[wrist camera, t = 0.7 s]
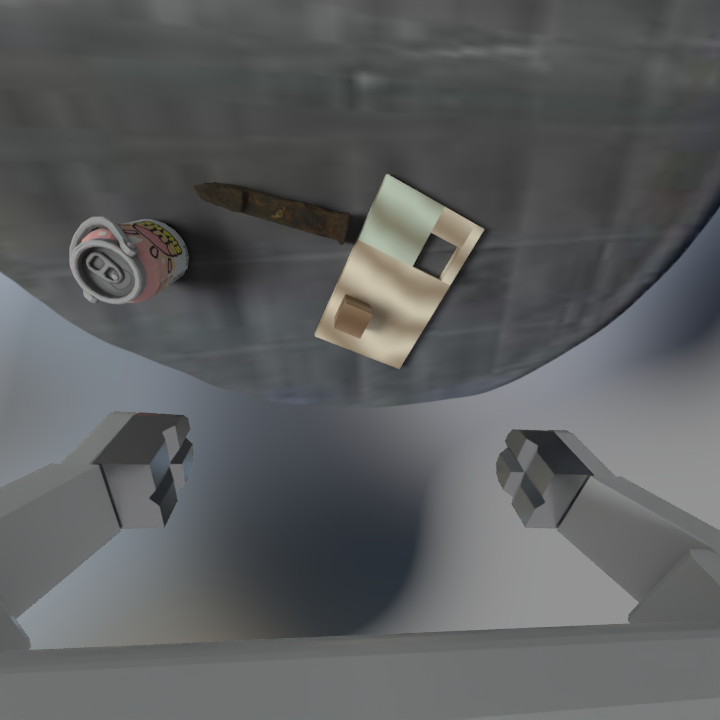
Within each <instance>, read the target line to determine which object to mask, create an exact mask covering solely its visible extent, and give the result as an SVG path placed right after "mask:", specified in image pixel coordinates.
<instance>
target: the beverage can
mask: <svg viewBox="0 0 720 720" xmlns="http://www.w3.org/2000/svg"><path fill="white" fill-rule="evenodd" d="M99 227H105V228H101V229H98V230H95V229H97V228H99ZM94 230H95V231H94ZM188 262H189V255H188V250H187V247H186V245H185V243H184V241H183V239H182V238H181V237H180V236H179V234H178V233H177V232H176V231H175V230H174V229H172V228H171V227H169V226H168V225H166V224H165V223H162V222H159V221H156V220H152V219H141V220H137V221H132V222H128V223H123V224H119V225H118V224H117V223H116V222H114V221H113V220H111V219H109V218H108V217H91V218H89V219H88V220H86V221H85V222H83V223H82V224H81V225H80V227H79V228H78V230H77V231H76V232H75V234H74V236H73V239H72V242H71V245H70V267H71V270H72V273H73V275H74V278H75V279H76V281H77V282H78V283H79V285H80V286H81V287H82V289H83V293H84V296H85V298H86V299H88V300H89V301H90V302H92V303H98V302H99V301H103V302H107V303H110V304H124V303H138V302H141V301H145V300H148V299H149V298H151V297H152V296H154V295H155V294H157V293H158V292H160V291H161V290H163V289H164V288H166V287H167V286H169V285H170V284H172V283H173V282H175V281H176V280H177V279H179V278H180V277H181V276H183V275H184V273H185V271H186V270H187V268H188Z"/></svg>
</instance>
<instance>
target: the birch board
mask: <svg viewBox="0 0 720 720" xmlns="http://www.w3.org/2000/svg"><path fill="white" fill-rule="evenodd" d="M483 231H484V229H483V228H481V227H480V226H478V225H476V224H474V223H473V222H471V221H469V220H467V219H466V218H464V217H462V216H460V215H459V214H457V213H455V212H453V211H452V210H450V209H448V208H446V207H445V206H443V205H441V204H439V203H438V202H436V201H434V200H432V199H430V198H429V197H427V196H425V195H423V194H422V193H420V192H418V191H416V190H415V189H413V188H411V187H409V186H408V185H406V184H404V183H402V182H401V181H399V180H397V179H395V178H394V177H392V176H390V175H388V174H386V175H385V177H384V180H383V182H382V184H381V186H380V189H379V191H378V193H377V195H376V198H375V200H374V202H373V204H372V206H371V209H370V211H369V213H368V215H367V218H366V220H365V222H364V224H363V227H362V229H361V231H360V233H359V236H358V238H357V240H356V242H355V244H354V247H353V249H352V251H351V253H350V256H349V258H348V260H347V262H346V265H345V267H344V269H343V271H342V274H341V276H340V278H339V280H338V282H337V285H336V287H335V289H334V291H333V294H332V296H331V298H330V300H329V303H328V305H327V307H326V309H325V311H324V314H323V316H322V318H321V320H320V323H319V325H318V327H317V329H316V332H315V337H318V338H321V339H323V340H326V341H328V342H331V343H333V344H336V345H339V346H341V347H344V348H346V349H349V350H351V351H354V352H357V353H359V354H362V355H364V356H367V357H369V358H372V359H375V360H377V361H380V362H382V363H385V364H388V365H390V366H393V367H395V368H398V369H400V367H401V366H402V364H403V362H404V361H405V359H406V357H407V356H408V354H409V352H410V351H411V349H412V348H413V346H414V344H415V343H416V341H417V339H418V338H419V336H420V334H421V333H422V331H423V329H424V328H425V326H426V325H427V323H428V321H429V320H430V318H431V316H432V315H433V313H434V311H435V310H436V308H437V306H438V305H439V303H440V302H441V300H442V298H443V297H444V295H445V293H446V292H447V290H448V288H449V287H450V285H451V283H452V282H453V280H454V279H455V277H456V275H457V274H458V272H459V270H460V269H461V267H462V265H463V264H464V262H465V260H466V259H467V257H468V256H469V254H470V252H471V251H472V249H473V247H474V246H475V244H476V242H477V241H478V239H479V237H480V236H481V234H482V233H483ZM430 233H433V234H434V235H436V236H438V237H440V238H442V239H444V240H446V241H448V242H449V243H451V244H453V245H455V246H457V248H456V250H455V252H454V253H453V255H452V257H451V259H450V260H449V262H448V264H447V265H446V267H445V269H444V270H443V272H442V274H441V276H440V277H439V278H437V277H435V276H433V275H431V274H429V273H427V272H425V271H423V270H421V269H419V268H417V267H415V266H413V265H414V263H415V261H416V259H417V257H418V255H419V254H420V252H421V250H422V248H423V246H424V244H425V242H426V241H427V239H428V237H429V235H430ZM345 294H346V295H349V296H351V297H353V298H355V299H358V300H360V301H362V302H365V303H367V304H369V305H370V307H371V310H372V314H373V315H372V317H371V319H370V321H369V323H368V325H367V327H366V329H365V331H364V333H363V335H362V336H361V338H360V339H359V338H357V337H354V336H352V335H349V334H347V333H344V332H342V331H339V330H337V329H334V317H335V315H336V313H337V311H338V308H339V306H340V304H341V302H342V300H343V298H344V296H345Z"/></svg>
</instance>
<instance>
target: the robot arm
mask: <svg viewBox="0 0 720 720" xmlns="http://www.w3.org/2000/svg"><path fill="white" fill-rule="evenodd" d="M189 431H190V425H189V420H188V418H187V417H186V416H184V415H171V414H156V413H136V412H117V411H116V412H113V413H110V414H108V415H107V416H106V417H105V418H104V419H103V420H102V421H101V422H100V423H99V424H98V425H97V426H96V427H95V428H94V429H93V430H92V432H90V433H89V435H88V436H87V437H86V438H85V439H84V440H83V441H82V442H81V443H80V444H79V445H78V446H77V447H76V448H75V449H74V450H73V451H72V452H71V453H70V454H69V455H68V456H67V457H66V458H65V459H64V460H63V461H62V462H61V463H60V464H49V465H47V466H45V467H43V468H41V469H39V470H37V471H35V472H32V473H30V474H28V475H26V476H24V477H22V478H20V479H18V480H16V481H13V482H11V483H9V484H7V485H5V486H3V487H1V488H0V720H720V530H718V529H716V528H714V527H713V526H711V525H709V524H707V523H705V522H703V521H702V520H700V519H698V518H696V517H694V516H692V515H690V514H689V513H687V512H685V511H683V510H682V509H679V508H678V507H676V506H674V505H672V504H671V503H669V502H667V501H665V500H663V499H661V498H659V497H658V496H656V495H654V494H652V493H650V492H649V491H647V490H645V489H643V488H641V487H639V486H637V485H636V484H634V483H632V482H630V481H628V480H627V479H625V478H623V477H616V476H615V475H614V474H613V473H612V472H611V471H610V470H609V469H608V468H607V467H606V466H605V465H604V464H603V463H602V462H601V461H600V460H599V459H598V458H597V457H596V456H595V455H594V454H593V453H592V452H591V451H590V450H589V449H588V448H587V447H586V446H585V445H584V444H583V443H582V442H581V441H580V440H579V439H578V438H577V437H576V436H575V435H574V434H572V433H570V432H568V431H566V430H561V431H560V430H548V431H541V430H515V429H513V430H512V431H511V432H510V433H509V434H508V435H507V438H506V440H505V442H506V445H507V447H508V448H506V449H505V450H504V451H503V452H501V453H500V454H499V457H498V460H497V462H496V474H497V477H498V481H499V483H500V484H501V486H502V488H503V490H505V491H506V492H507V493H509V494H510V495H511V496H512V497H513V499H512V506H513V507H514V509H515V511H516V512H517V514H518V516H519V518H520V519H521V521H522V523H523V524H524V526H525V527H526V528H558V529H557V531H559V532H560V533H561V534H562V535H563V536H564V537H565V538H566V539H568V540H569V541H570V542H571V543H572V544H573V545H575V546H576V547H577V548H578V549H579V550H580V551H581V552H582V553H583V554H585V555H586V556H587V557H588V558H589V559H590V560H591V561H593V562H594V563H595V564H596V565H597V566H598V567H599V568H600V569H602V570H603V571H604V572H605V573H606V574H607V575H609V576H610V577H611V578H612V579H613V580H614V581H615V582H616V583H618V584H619V585H620V586H621V587H622V588H623V589H625V590H626V591H627V592H628V593H629V594H630V595H631V596H632V597H633V598H634V599H636V600H637V601H638V602H639V604H638V605H637V606H636V607H635V608H634V609H633V610H632V611H631V613H629V617H628V621H629V623H630V624H611V625H610V624H609V625H585V626H562V627H539V628H517V629H494V630H469V631H447V632H423V633H401V634H379V635H357V636H335V637H313V638H288V639H267V640H244V641H221V642H199V643H176V644H153V645H131V646H110V647H109V646H108V647H87V648H86V647H85V648H64V649H41V650H29V649H30V647H31V645H30V639H29V637H28V636H27V634H26V633H25V631H24V630H23V629H22V627H21V626H20V624H19V623H18V622H17V620H16V619H17V618H18V617H19V616H20V615H21V614H22V613H24V612H25V611H26V610H27V609H28V608H30V607H31V606H32V605H33V604H34V603H36V602H37V601H38V600H39V599H40V598H42V597H43V596H44V595H45V594H46V593H48V592H49V591H50V590H51V589H52V588H53V587H55V586H56V585H57V584H58V583H59V582H61V581H62V580H63V579H64V578H65V577H67V576H68V575H69V574H70V573H71V572H73V571H74V570H75V569H76V568H77V567H78V566H79V565H81V564H82V563H83V562H85V560H87V559H88V558H89V557H90V556H92V555H93V554H94V553H95V552H96V551H98V550H99V549H100V548H101V547H102V546H103V545H105V544H106V543H107V542H108V541H109V540H111V539H112V538H113V537H114V536H116V535H117V534H118V533H119V532H120V531H121V530H120V529H131V528H165V526H166V524H167V521H168V519H169V517H170V515H171V513H172V511H173V509H174V507H175V505H176V503H177V501H178V500H177V495H176V491H177V490H178V489H180V488H181V487H182V486H184V485H185V484H186V482H187V480H188V478H189V475H190V473H191V469H192V465H193V453H194V452H193V445H192V443H191V442H190V441H189V440H188V439H187V438H186V436H187V434H188V433H189Z"/></svg>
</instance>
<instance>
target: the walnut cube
mask: <svg viewBox="0 0 720 720" xmlns="http://www.w3.org/2000/svg"><path fill="white" fill-rule="evenodd" d="M372 315H373V314H372V310H371V307H370V305H369V304H367V303H365V302H362V301H360V300H358V299H355V298H353V297H351V296H349V295H346V294H345V296H344V298H343V300H342V302H341V304H340V306H339V308H338V311H337V313H336V315H335V317H334V329H337V330H339V331H342V332H344V333H347V334H349V335H352V336H354V337H357V338H359V339H360V338H361V336H362V335H363V333H364V331H365V329H366V327H367V325H368V323H369V321H370V319H371V317H372Z"/></svg>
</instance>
